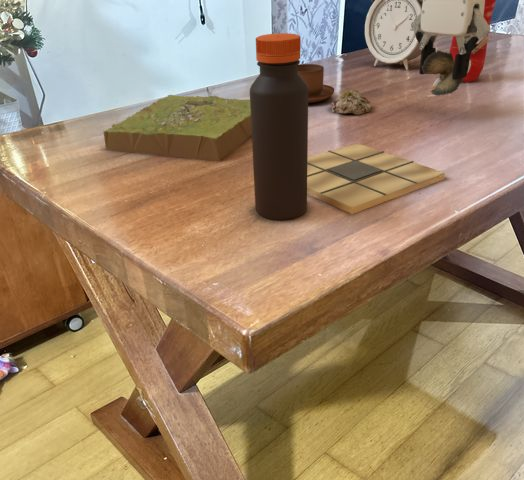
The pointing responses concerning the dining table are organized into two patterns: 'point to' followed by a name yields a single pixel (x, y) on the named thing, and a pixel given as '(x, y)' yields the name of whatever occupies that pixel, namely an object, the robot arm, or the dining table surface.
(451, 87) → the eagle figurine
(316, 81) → the cup and saucer
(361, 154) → the board
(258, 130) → the vinegar
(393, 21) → the alarm clock
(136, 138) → the miniature landscape model
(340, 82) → the dining table surface
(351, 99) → the mineral rock
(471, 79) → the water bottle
